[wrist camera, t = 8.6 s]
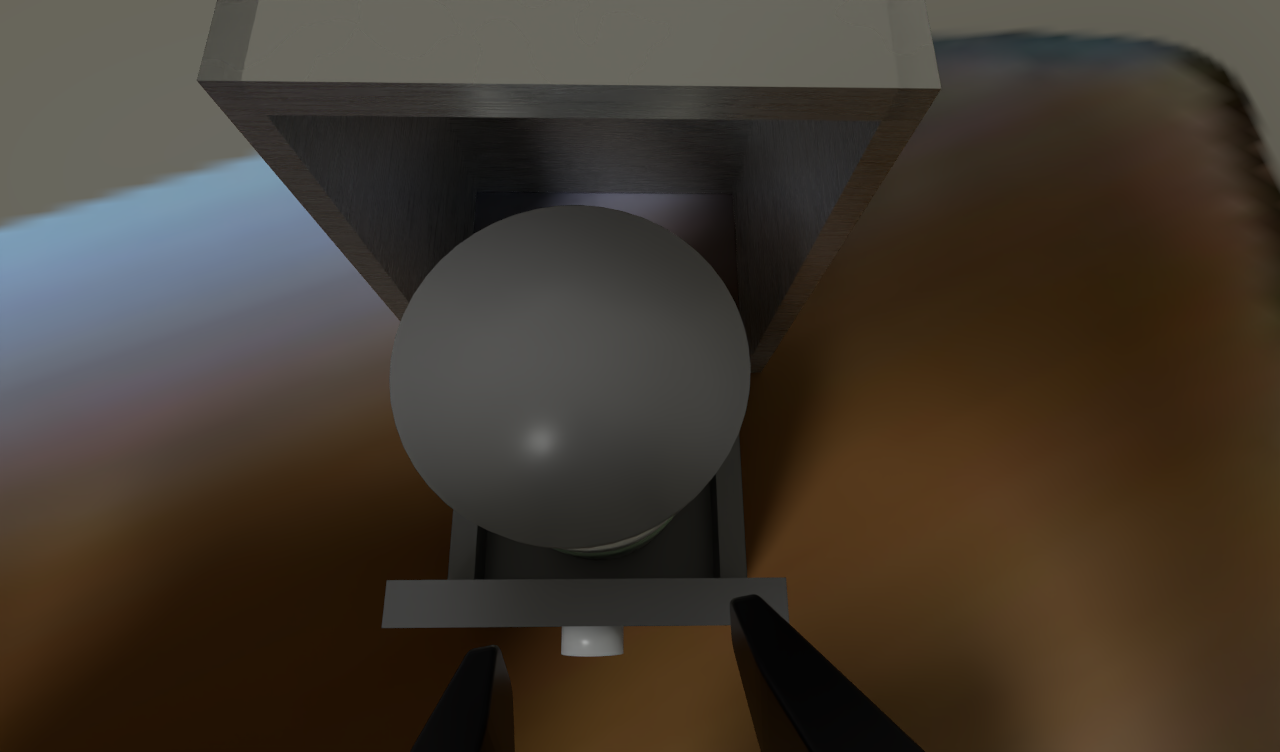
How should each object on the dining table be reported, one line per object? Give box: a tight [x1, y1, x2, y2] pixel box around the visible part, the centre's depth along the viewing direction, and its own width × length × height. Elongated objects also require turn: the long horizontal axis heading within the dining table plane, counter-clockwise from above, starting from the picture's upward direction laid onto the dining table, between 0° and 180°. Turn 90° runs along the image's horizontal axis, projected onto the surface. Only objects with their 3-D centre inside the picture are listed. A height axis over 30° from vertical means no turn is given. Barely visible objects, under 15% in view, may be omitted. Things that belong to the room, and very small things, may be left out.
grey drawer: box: [382, 434, 789, 656], centre depth 19 cm, size 10×10×8 cm
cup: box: [389, 205, 751, 560], centre depth 17 cm, size 6×6×12 cm
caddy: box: [197, 0, 941, 372], centre depth 19 cm, size 9×12×15 cm
